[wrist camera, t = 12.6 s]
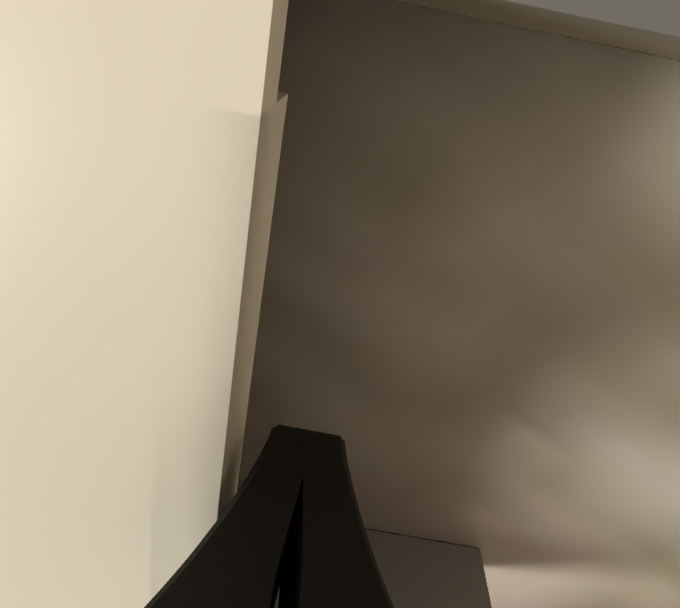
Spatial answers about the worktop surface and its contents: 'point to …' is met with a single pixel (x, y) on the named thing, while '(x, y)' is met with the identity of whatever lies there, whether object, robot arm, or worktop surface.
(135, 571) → the lid
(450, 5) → the housing
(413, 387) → the worktop surface
